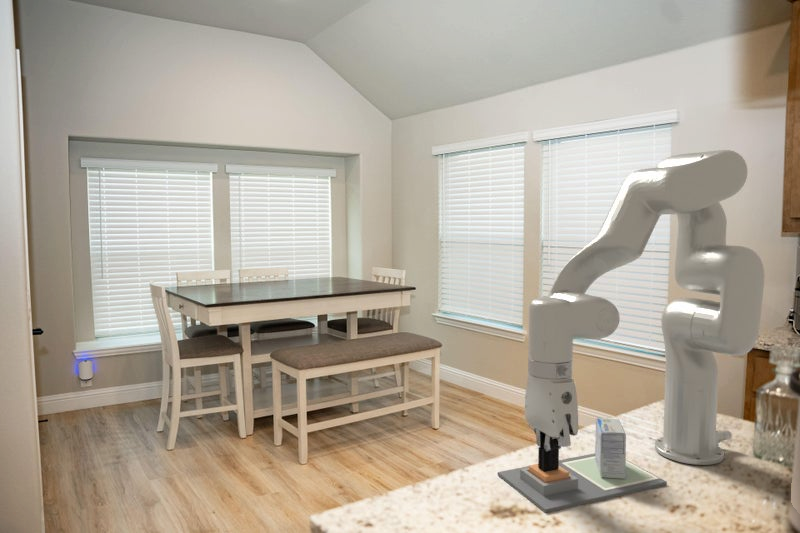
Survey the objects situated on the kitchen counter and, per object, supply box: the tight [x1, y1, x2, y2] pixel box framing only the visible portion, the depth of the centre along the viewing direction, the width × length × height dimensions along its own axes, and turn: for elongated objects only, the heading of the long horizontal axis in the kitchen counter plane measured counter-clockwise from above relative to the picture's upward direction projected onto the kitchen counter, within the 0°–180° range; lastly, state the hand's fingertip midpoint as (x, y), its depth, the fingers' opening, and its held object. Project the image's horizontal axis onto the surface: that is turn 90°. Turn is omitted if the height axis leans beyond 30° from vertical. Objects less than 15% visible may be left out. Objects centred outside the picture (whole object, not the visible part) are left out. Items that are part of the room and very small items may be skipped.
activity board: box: [497, 452, 668, 514], centre depth 108 cm, size 26×15×2 cm, turn 111°
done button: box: [528, 463, 569, 483], centre depth 105 cm, size 5×5×2 cm
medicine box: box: [594, 417, 627, 479], centre depth 110 cm, size 8×4×9 cm, turn 168°
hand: (548, 468), depth 105 cm, fingers closed
